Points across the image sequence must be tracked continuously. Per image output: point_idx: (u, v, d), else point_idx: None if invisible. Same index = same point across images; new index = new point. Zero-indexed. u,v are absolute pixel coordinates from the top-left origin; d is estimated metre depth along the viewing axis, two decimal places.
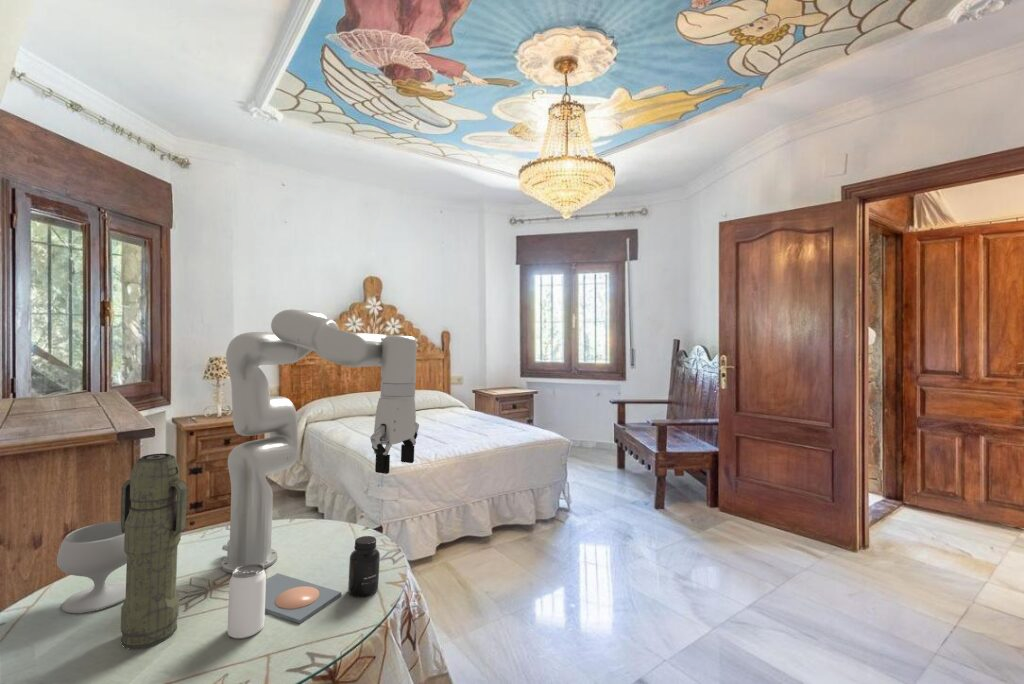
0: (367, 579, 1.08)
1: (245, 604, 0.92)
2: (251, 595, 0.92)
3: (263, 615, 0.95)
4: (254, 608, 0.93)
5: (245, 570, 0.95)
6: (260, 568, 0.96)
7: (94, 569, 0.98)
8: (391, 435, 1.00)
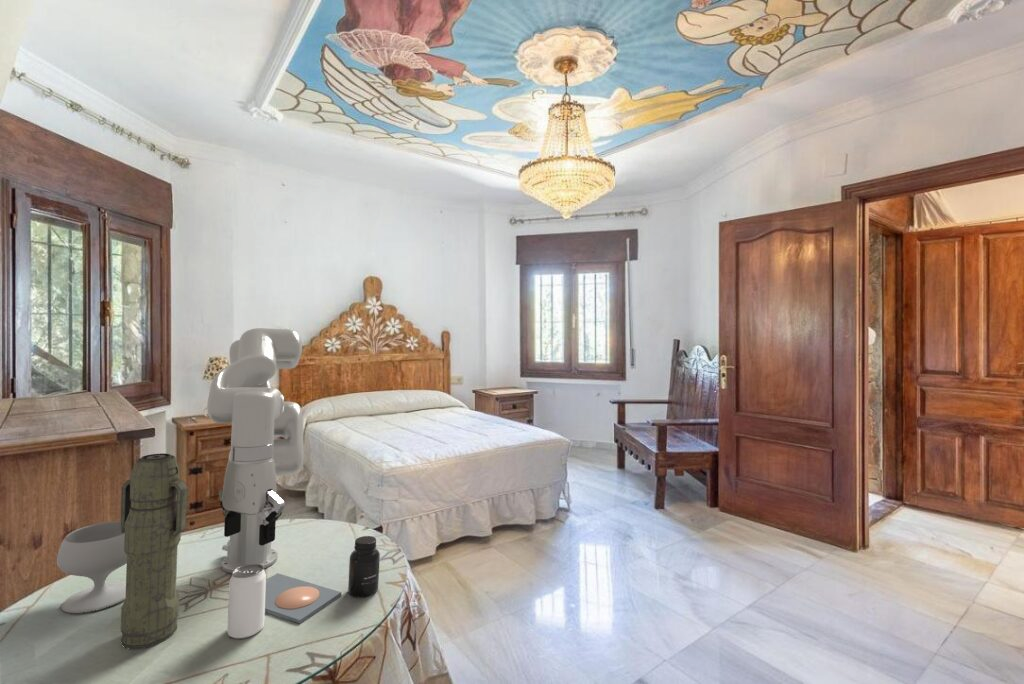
0: (367, 579, 1.08)
1: (245, 604, 0.92)
2: (251, 595, 0.92)
3: (263, 615, 0.95)
4: (254, 607, 0.93)
5: (245, 570, 0.95)
6: (260, 568, 0.96)
7: (94, 569, 0.98)
8: None
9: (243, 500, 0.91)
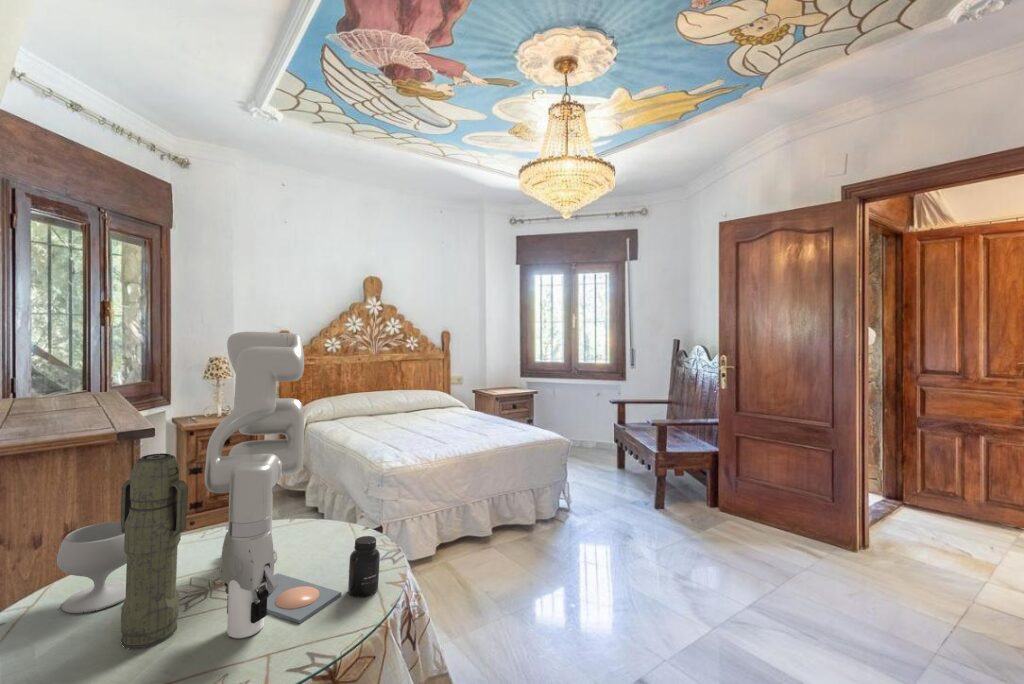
0: (367, 579, 1.08)
1: (244, 604, 0.92)
2: (251, 594, 0.92)
3: None
4: None
5: None
6: None
7: (94, 569, 0.98)
8: (273, 571, 0.94)
9: (240, 575, 0.91)
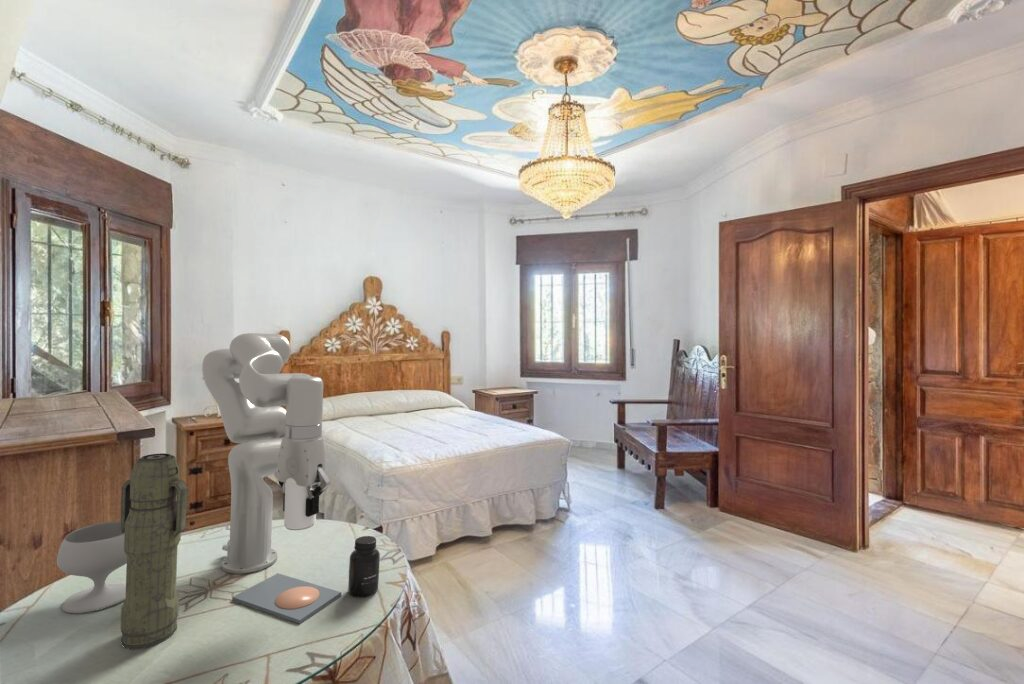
0: (367, 579, 1.08)
1: (300, 499, 1.02)
2: (305, 491, 1.03)
3: None
4: None
5: None
6: None
7: (94, 569, 0.98)
8: None
9: (297, 473, 1.02)
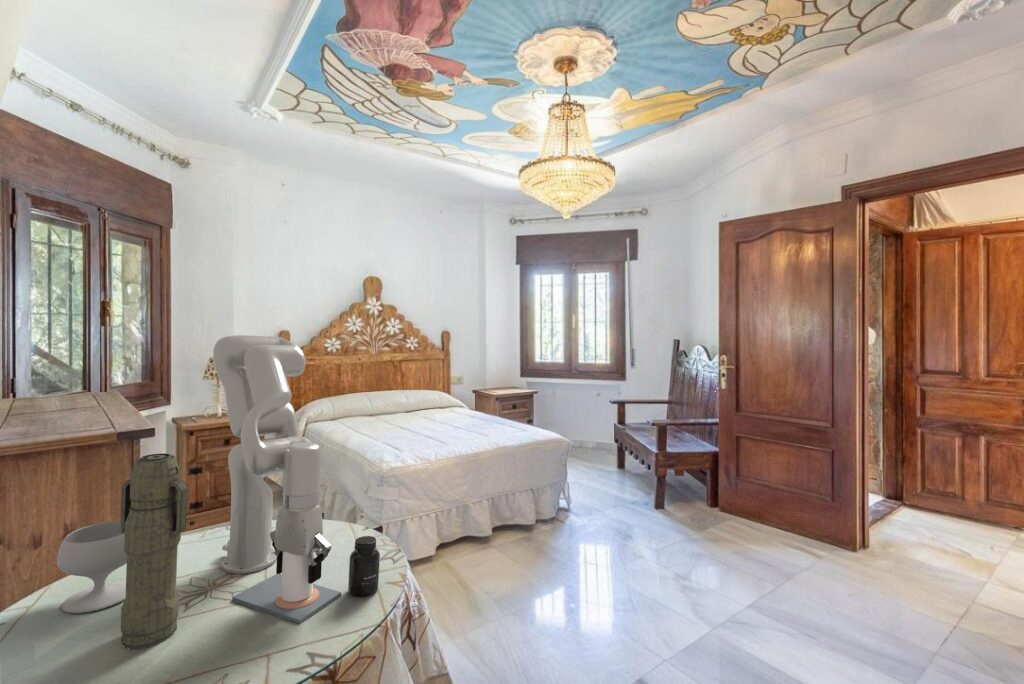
0: (367, 579, 1.08)
1: (296, 572, 1.03)
2: (302, 563, 1.03)
3: (312, 583, 1.06)
4: (305, 575, 1.04)
5: None
6: None
7: (94, 569, 0.98)
8: None
9: (294, 543, 1.02)
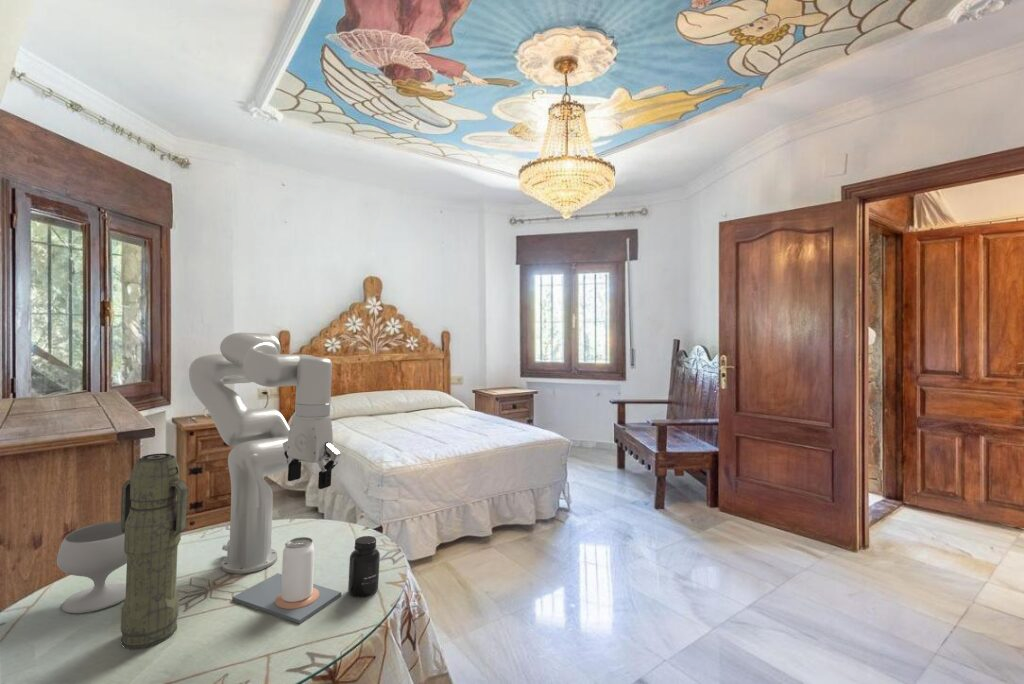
0: (367, 579, 1.08)
1: (296, 572, 1.03)
2: (302, 563, 1.03)
3: (312, 583, 1.06)
4: (305, 575, 1.04)
5: (296, 542, 1.06)
6: (309, 541, 1.07)
7: (94, 569, 0.98)
8: None
9: (305, 450, 1.06)
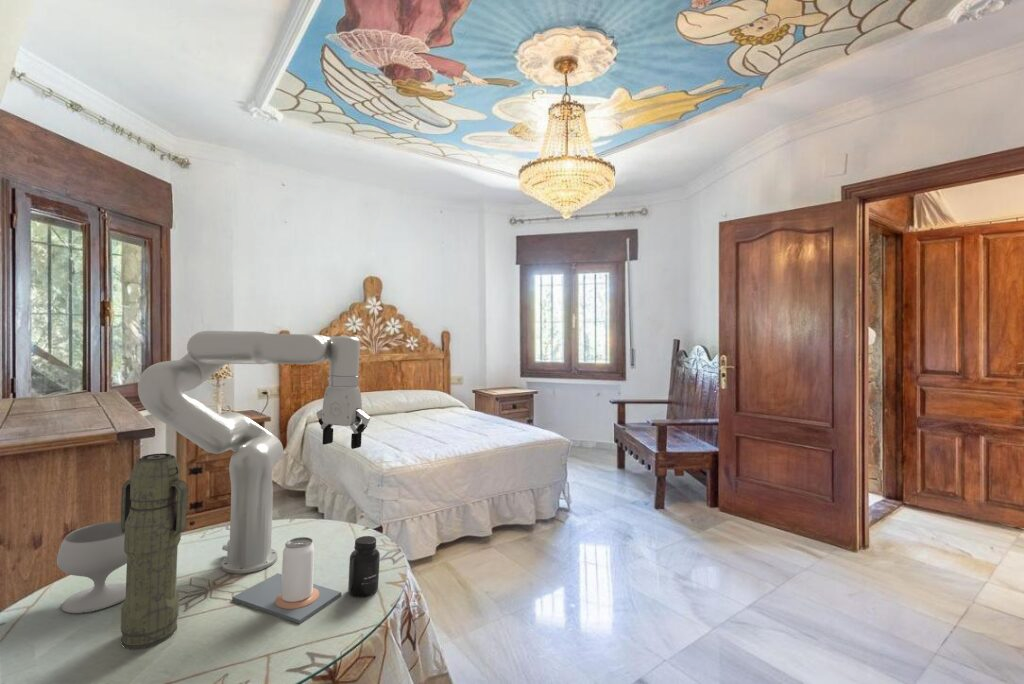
0: (367, 579, 1.08)
1: (296, 572, 1.03)
2: (302, 563, 1.03)
3: (312, 583, 1.06)
4: (305, 575, 1.04)
5: (296, 542, 1.06)
6: (309, 541, 1.07)
7: (94, 569, 0.98)
8: None
9: (339, 415, 1.23)
